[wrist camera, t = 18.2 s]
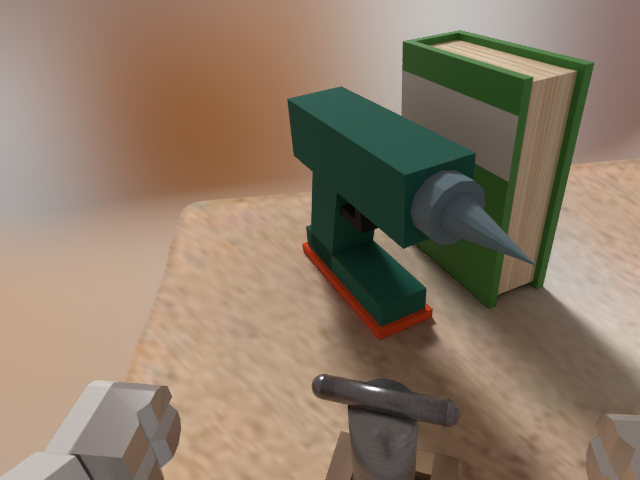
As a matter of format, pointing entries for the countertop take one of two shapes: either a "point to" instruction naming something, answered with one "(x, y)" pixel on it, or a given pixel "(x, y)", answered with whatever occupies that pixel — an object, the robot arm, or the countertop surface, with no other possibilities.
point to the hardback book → (500, 143)
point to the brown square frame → (430, 472)
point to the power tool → (384, 201)
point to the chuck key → (384, 423)
